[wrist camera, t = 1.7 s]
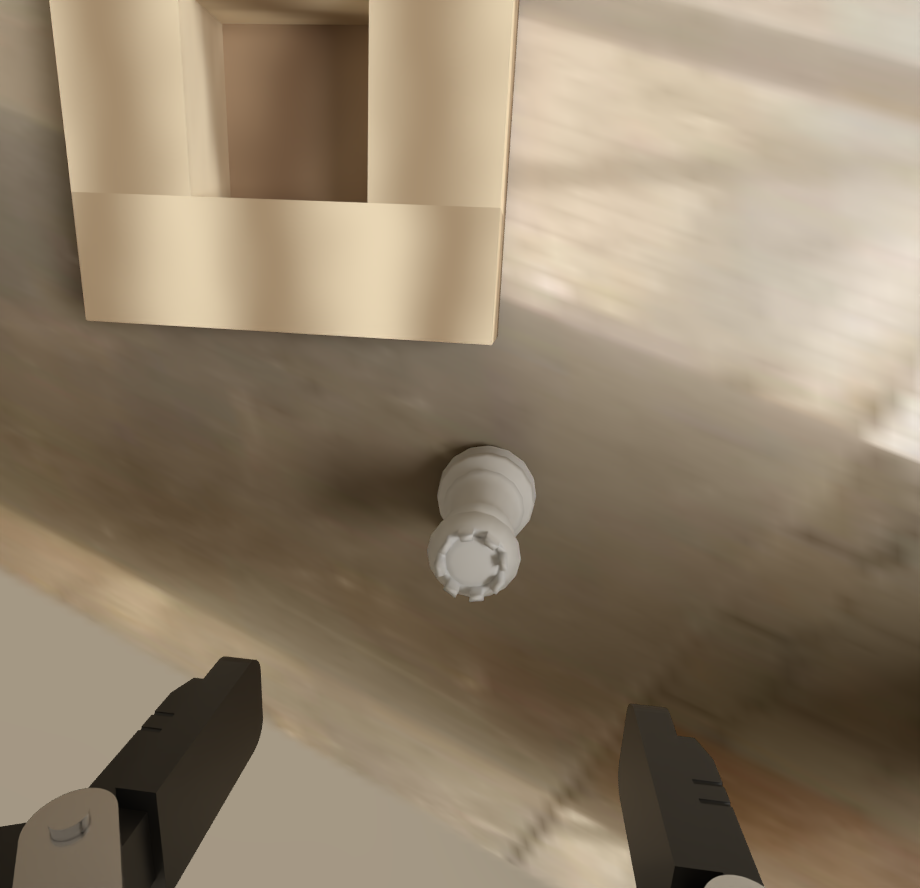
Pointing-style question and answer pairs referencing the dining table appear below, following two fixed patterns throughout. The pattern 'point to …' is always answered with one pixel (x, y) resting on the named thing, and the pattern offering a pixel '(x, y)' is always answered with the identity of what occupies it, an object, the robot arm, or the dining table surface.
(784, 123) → the dining table surface
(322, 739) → the dining table surface
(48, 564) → the dining table surface
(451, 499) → the rook chess piece
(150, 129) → the socket block
